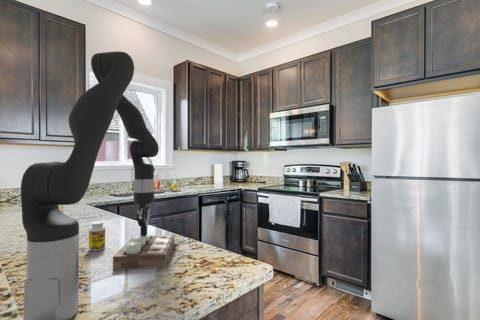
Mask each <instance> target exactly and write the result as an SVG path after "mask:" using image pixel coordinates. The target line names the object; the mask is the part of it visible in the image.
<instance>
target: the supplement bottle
mask: <svg viewBox="0 0 480 320" xmlns="http://www.w3.org/2000/svg"><path fill="white" fill-rule="evenodd" d="M105 248H106V227H105V226H104V222H103V221H94V222H91V228H89V229H88V250H89V251H91V252H98V251H103V250H104V249H105Z"/></svg>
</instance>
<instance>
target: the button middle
mask: <svg viewBox="0 0 480 320" xmlns="http://www.w3.org/2000/svg"><path fill="white" fill-rule="evenodd" d="M132 237H133V236H132ZM132 237H131V238H132ZM132 242H140V243H141V247H145V246H146V237H145V236H141V235H139V236H137V235H136V237H133V238H132Z"/></svg>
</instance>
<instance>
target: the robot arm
mask: <svg viewBox="0 0 480 320" xmlns="http://www.w3.org/2000/svg"><path fill="white" fill-rule="evenodd" d="M134 64H135V63H134V60H133V58H132V56H130V54H129V53H127V52H124V51H119V50H116V51H107V52H103V51H102V52H97V53H94V54H93V55H92V57H91V60H90V65H91V67H90V68H91V70H92V72H93V75H94V77H95V79H96V81H97V82H98V83H96V84H95V85H93V86H92V87H90V88H89V89H88V90H86V91H84V92H83V93H82V94H81V95H80V96H79V98H78V99H77V100H76V102H75V104H74V105H73V108H72V109H71V111H70V113H69V117H68V126H69V130H70V133H71V135H72V138H73V140H74V141H73V142H74V146H73V148H72V151H71V153H70V155H69V156H68V158H67V160H66V161H65V162H36V163H33V164H31V165H29V166H28V167H27V168H26V170H25V171H24V172H23V174H22V178H21V182H20V203H21V221H22V222H21V223H22V226H23V228H24V231H25V233H26V281H24V284H23V287H24V288H23V320H70V319H71V318H73V317H75V315H77V314H78V312H79V298H80V297H79V287H80V285H79V283H80V282H79V275H80V271H79V270H80V268H79V267H80V264H79V263H80V260H79V259H80V258H79V257H80V247H79V246H80V224H79V221H78V220H76V219H75V218H73V217H70V216H68V215H66V214H65V213H63V212H62V210H60V208H59V206H67V205H68V206H70V205H76V204H78V203H79V202H80V201H81V200H82V199H83V198H84V196H85V195H86V193H87V191H88V189H89V185H90V182H91V178H92V175H93V172H94V168H95V163H96V162H97V158H98V154H99V151H100V149H101V146H102V143H103V141H104V139H105V136H106V134H107V132H108V129H109V128H110V125H111V123H112V122H113V119H114V115H115V113H116V112H117V114H118V115H119V118H120V119H121V122H122V124H123V126H124V129H125V131H126V133H127V136H128V137H129V138H131V139H132V141H131V143H130V144H129V153H130V157H131V160H132V165H133V168H134V172H133V173H134V178H133V179H134V181H133V204H135V205H138V208H137V214H136V221H137V224H138V227H139V228H140V236H146V235H148V226H149V223H150V217H151V210H152V209H151V207H150V204H153V203H155V180H154V177H155V176H154V175H155V173H154V172H155V171H154V170H155V168H154V167H155V166H154V165H153V164H151V163H147V162H145V161H144V158H154V157H156V156H157V155H158V154H159V151H160V150H159V149H160V147H159V144H158V142H157V140H156V139H155V137H154V136H153V135H152V133H151V131H150V130H149V129H148V128H147V125H146V123H145V120H144V117H143V114H142V113H141V111H140V110H139V109H138V107H137V106H136V105H135V104H133V103H132V102H131V101H130V100H129V99H128V98H127V97H126V96H125V95H124V94H125V92H126V90H127V88H128V87H129V86H130V84H131V82H132V80H133V77H134V74H135V65H134Z"/></svg>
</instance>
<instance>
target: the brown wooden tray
mask: <svg viewBox="0 0 480 320" xmlns="http://www.w3.org/2000/svg"><path fill="white" fill-rule="evenodd" d="M136 236H137V235H136ZM136 236H135V235H133V236H132V237H131V238H130V239H129V240H128V241H127V242H126V243H125V244H124V245H123V246H122V247H121V248H120V249H119V250H118V251H117V252H116V253H115V254H114V255H113V256H112V270H113V271H114V270H132V269H134V270H135V269H152V268H166V267H167V264H168V262H169V260H170V257H171V255H172V252H173V251H174V250H173V249H174V247H175V235H174V234H166V235H165V234H164V235H161V234H160V235H149V236H150V241H146V246H145V247H141V253H140V254H132V255H126V244H128V243H131V242H132V238H133V237H136Z"/></svg>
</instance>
